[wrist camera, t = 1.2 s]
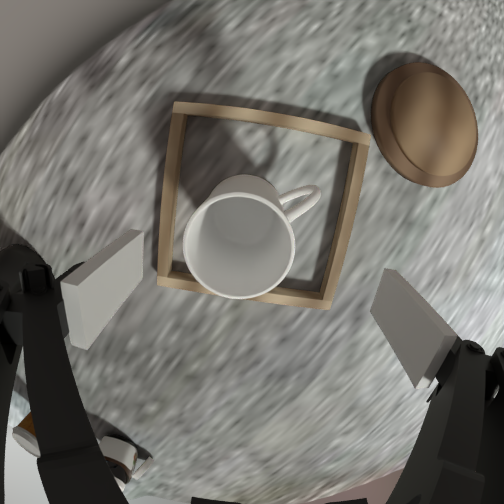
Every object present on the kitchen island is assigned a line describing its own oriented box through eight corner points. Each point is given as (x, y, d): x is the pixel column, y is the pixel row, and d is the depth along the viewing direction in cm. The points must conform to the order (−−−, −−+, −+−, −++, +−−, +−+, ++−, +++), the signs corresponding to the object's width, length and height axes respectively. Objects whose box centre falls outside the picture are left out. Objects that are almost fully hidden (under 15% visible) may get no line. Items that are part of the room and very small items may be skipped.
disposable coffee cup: (60, 429, 49) (42, 463, 38) (30, 404, 47) (9, 437, 36) (69, 418, 47) (49, 456, 36) (36, 391, 45) (11, 427, 34)
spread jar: (101, 426, 47) (83, 467, 36) (152, 440, 47) (138, 486, 36) (112, 453, 51) (99, 489, 40) (157, 465, 51) (147, 505, 40)
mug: (293, 150, 30) (315, 150, 18) (321, 222, 32) (355, 261, 21) (193, 194, 31) (158, 219, 20) (225, 261, 34) (211, 316, 23)
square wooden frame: (161, 277, 35) (157, 285, 33) (178, 104, 28) (174, 101, 26) (326, 302, 36) (329, 310, 34) (364, 135, 29) (370, 134, 27)
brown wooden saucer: (361, 167, 30) (371, 170, 27) (377, 48, 25) (388, 40, 22) (458, 197, 31) (473, 202, 28) (472, 93, 26) (487, 91, 23)
